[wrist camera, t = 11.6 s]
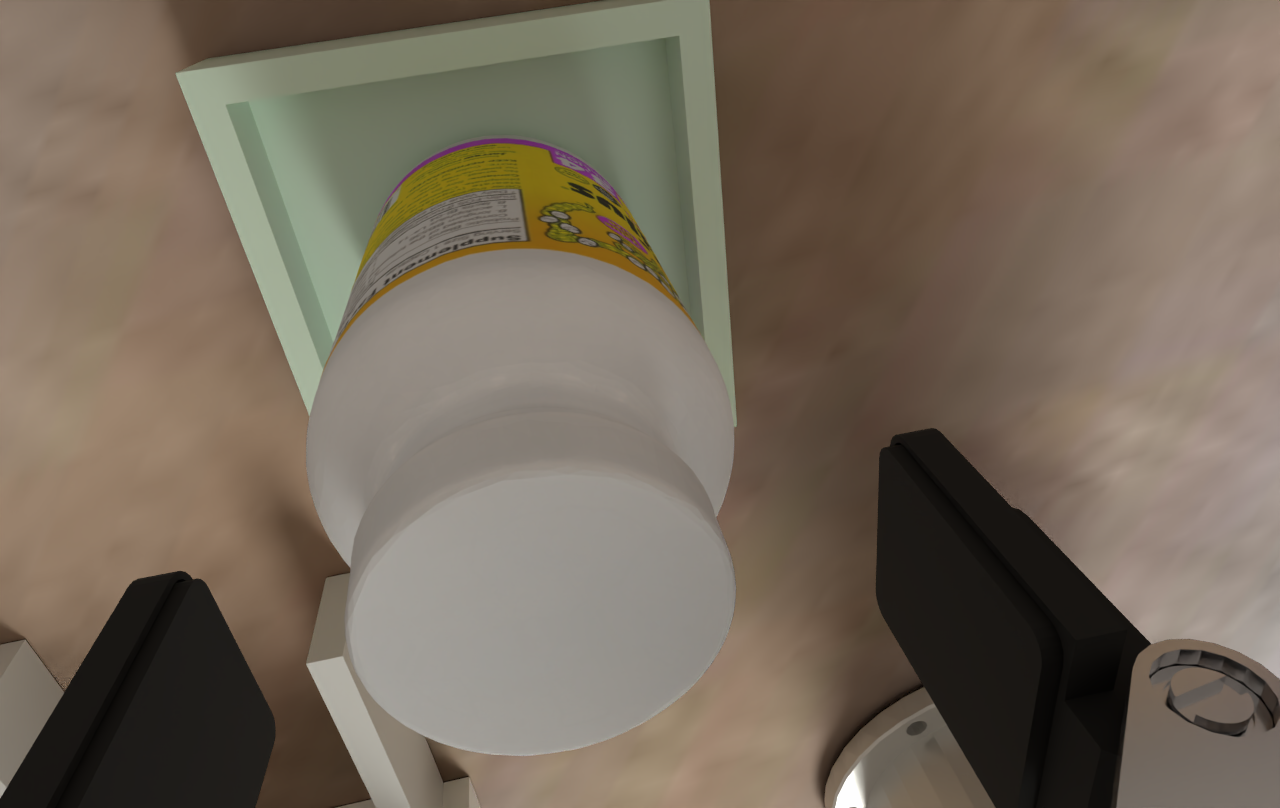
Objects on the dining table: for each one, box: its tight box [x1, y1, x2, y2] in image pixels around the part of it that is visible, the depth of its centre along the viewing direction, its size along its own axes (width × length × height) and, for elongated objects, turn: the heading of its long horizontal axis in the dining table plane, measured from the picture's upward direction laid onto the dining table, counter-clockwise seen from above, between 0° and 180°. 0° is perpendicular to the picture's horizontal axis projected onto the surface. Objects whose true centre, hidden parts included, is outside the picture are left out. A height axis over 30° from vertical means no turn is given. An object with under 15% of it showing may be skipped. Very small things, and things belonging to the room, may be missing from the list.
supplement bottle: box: [306, 135, 736, 756], centre depth 15 cm, size 7×7×13 cm
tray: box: [175, 0, 737, 427], centre depth 20 cm, size 11×11×2 cm
